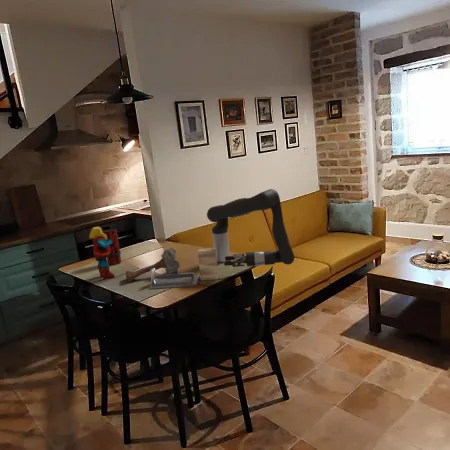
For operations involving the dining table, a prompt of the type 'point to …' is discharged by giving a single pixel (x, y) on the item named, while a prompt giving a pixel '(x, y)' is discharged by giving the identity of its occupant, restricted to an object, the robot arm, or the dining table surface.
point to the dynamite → (113, 248)
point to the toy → (102, 250)
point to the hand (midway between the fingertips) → (224, 261)
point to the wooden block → (208, 264)
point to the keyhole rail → (173, 280)
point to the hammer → (158, 265)
